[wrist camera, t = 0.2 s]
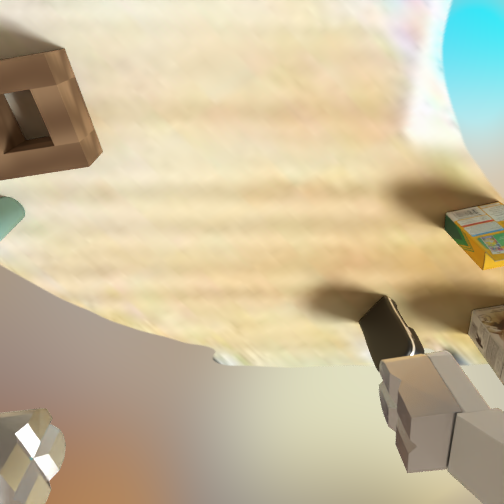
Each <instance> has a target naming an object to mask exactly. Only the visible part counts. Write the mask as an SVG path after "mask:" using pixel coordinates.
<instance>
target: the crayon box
mask: <svg viewBox="0 0 504 504" xmlns="http://www.w3.org/2000/svg"><path fill="white" fill-rule="evenodd" d="M444 230H445V231H446V232H447V233H448V234H449V235H450V236H451V237H452V238H453V239H454V240H455V241H456V242H457V244H458V245H459V246H460V247H461V248H462V249H463V250H464V251H465V252H466V253H467V254H468V255H469V256H470V257H471V258H472V259H473V261H474V262H475V263H476V264H477V265H478V266H479V267H480V268H481V269H482V270H486V269H492V268H496V267H501V266H504V205H503V204H502V203H501V202H499V201H498V202H494V203H490V204H486V205H481V206H476V207H471V208H467V209H462V210H458V211H453V212H447V213H446V217H445V229H444Z"/></svg>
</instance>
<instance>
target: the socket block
mask: <svg viewBox="0 0 504 504" xmlns="http://www.w3.org/2000/svg"><path fill="white" fill-rule="evenodd" d="M29 89H30V91H31V94H32V96H33V98H34V100H35V103H36V105H37V107H38V109H39V112H40V114H41V116H42V119H43V121H44V123H45V125H46V128H47V130H48V132H49V134H50V136H48V137H42V138H35V139H29V140H26V139H25V137H24V135H23V133H22V131H21V129H20V127H19V125H18V123H17V121H16V119H15V117H14V115H13V112H12V110H11V108H10V106H9V104H8V102H7V100H6V98H5V96H4V94H5V93H11V92H17V91H23V90H29ZM102 152H103V150H102V148H101V145H100V142H99V140H98V137H97V134H96V132H95V129H94V126H93V124H92V121H91V118H90V116H89V113H88V110H87V108H86V105H85V102H84V100H83V97H82V94H81V91H80V89H79V86H78V83H77V81H76V78H75V75H74V73H73V70H72V67H71V65H70V62H69V59H68V57H67V54H66V51H65V49H60V50H54V51H48V52H42V53H36V54H30V55H25V56H19V57H13V58H7V59H1V60H0V180H6V179H12V178H19V177H25V176H32V175H38V174H45V173H51V172H58V171H64V170H70V169H77V168H83V167H89V166H90V165H91V164H92V163H93V162H94V161H95V160H96V159H97V158H98V157H99V155H100V154H101V153H102Z"/></svg>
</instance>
